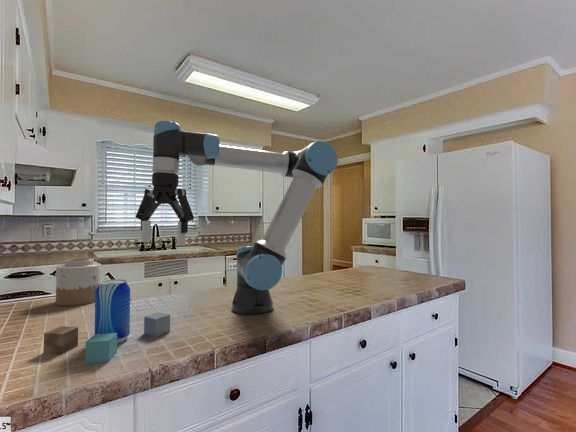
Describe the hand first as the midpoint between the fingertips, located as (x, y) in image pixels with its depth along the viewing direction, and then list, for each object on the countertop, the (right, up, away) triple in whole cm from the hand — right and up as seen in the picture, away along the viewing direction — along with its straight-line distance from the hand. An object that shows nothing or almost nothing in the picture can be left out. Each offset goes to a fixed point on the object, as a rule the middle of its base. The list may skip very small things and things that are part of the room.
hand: (163, 243), depth 96 cm
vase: (-46, -26, +31) cm, 62 cm away
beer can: (-10, -26, -10) cm, 29 cm away
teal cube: (-6, -26, -21) cm, 34 cm away
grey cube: (0, -26, -4) cm, 26 cm away
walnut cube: (-20, -26, -16) cm, 36 cm away
